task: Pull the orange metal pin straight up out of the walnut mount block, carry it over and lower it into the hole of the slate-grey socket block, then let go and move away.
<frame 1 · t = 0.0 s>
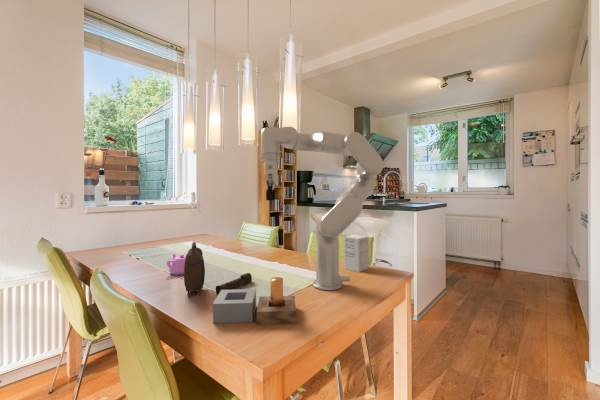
hand: (270, 199, 117), 37 cm above the table, tool pointing down, fingers open, 9 cm apart
alarm clock: (195, 292, 112), on the table
socket block: (236, 313, 93), on the table
hand tool: (235, 288, 117), on the table
pin: (276, 297, 91), in the mount block
supplement box: (356, 269, 145), on the table
mount block: (276, 315, 91), on the table
teapot: (182, 272, 139), on the table
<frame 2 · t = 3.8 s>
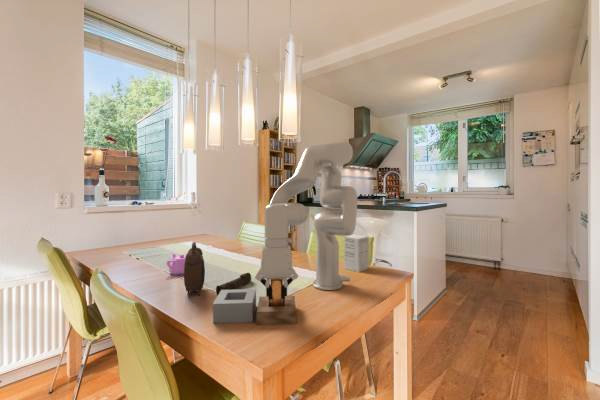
hand: (276, 297, 91), 6 cm above the table, tool pointing down, fingers closed on pin, 4 cm apart
pin: (276, 297, 91), in the mount block, touching gripper
everything else where it was.
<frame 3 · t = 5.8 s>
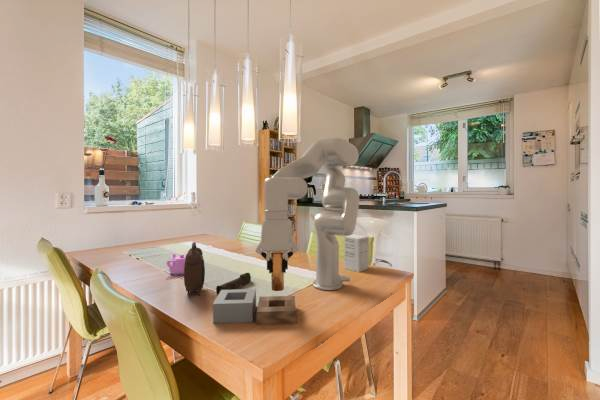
hand: (277, 271, 91), 14 cm above the table, tool pointing down, fingers closed on pin, 4 cm apart
pin: (277, 270, 91), point 15 cm above the table, touching gripper
everything else where it was.
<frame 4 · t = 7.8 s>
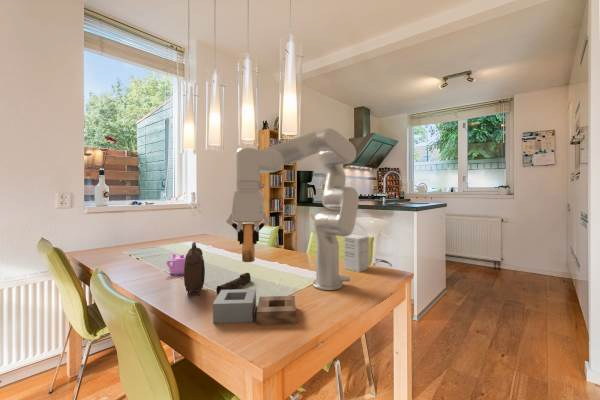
hand: (248, 242, 91), 24 cm above the table, tool pointing down, fingers closed on pin, 4 cm apart
pin: (248, 242, 91), point 24 cm above the table, touching gripper
everything else where it was.
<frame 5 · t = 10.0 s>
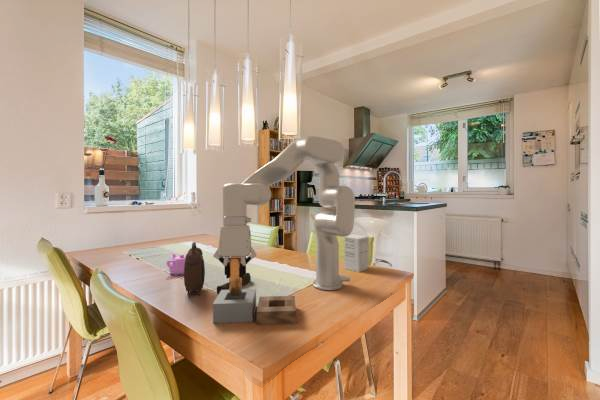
hand: (235, 276, 92), 13 cm above the table, tool pointing down, fingers closed on pin, 4 cm apart
pin: (235, 275, 92), point 13 cm above the table, touching gripper
everything else where it was.
when the fingers open (7 cm above the table, at t = 11.8 s): pin drops 1 cm, resting in socket block.
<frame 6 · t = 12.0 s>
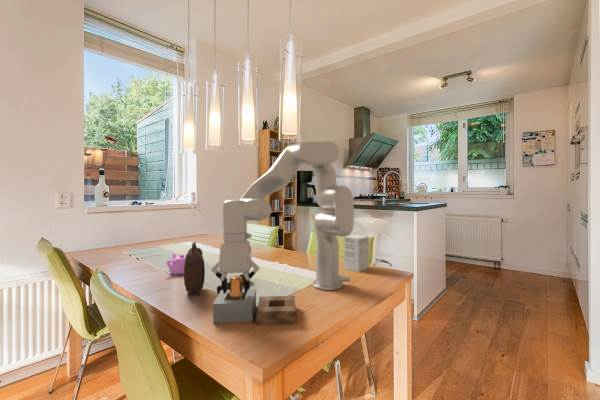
hand: (235, 291, 92), 8 cm above the table, tool pointing down, fingers open, 6 cm apart
pin: (236, 295, 92), in the socket block
everything else where it was.
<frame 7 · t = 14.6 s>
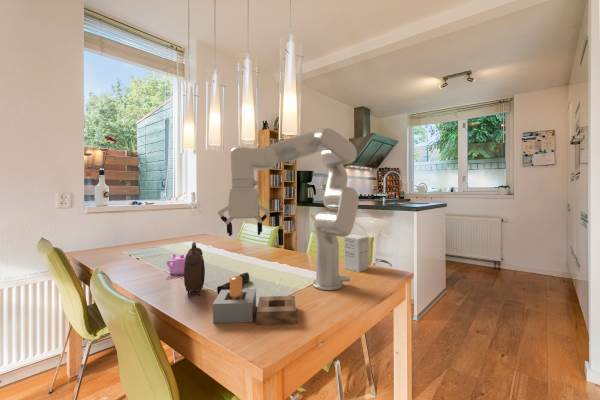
hand: (244, 234, 96), 26 cm above the table, tool pointing down, fingers open, 9 cm apart
nothing on the table moved.
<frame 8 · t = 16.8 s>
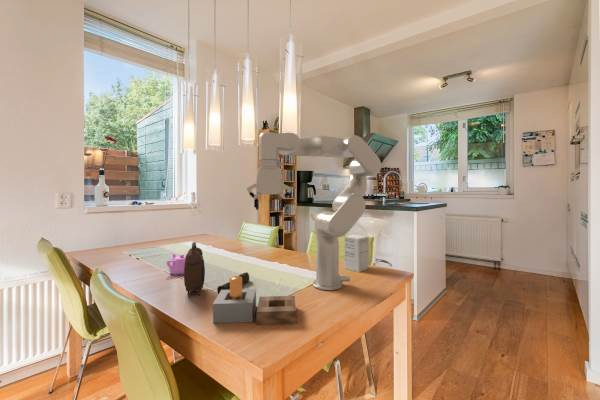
hand: (269, 209, 109), 33 cm above the table, tool pointing down, fingers open, 9 cm apart
nothing on the table moved.
at the end: pin 0.1 cm off-centre on the socket block, point 6.0 cm above the socket block's base; pin tilted 0°; the gripper is holding nothing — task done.
